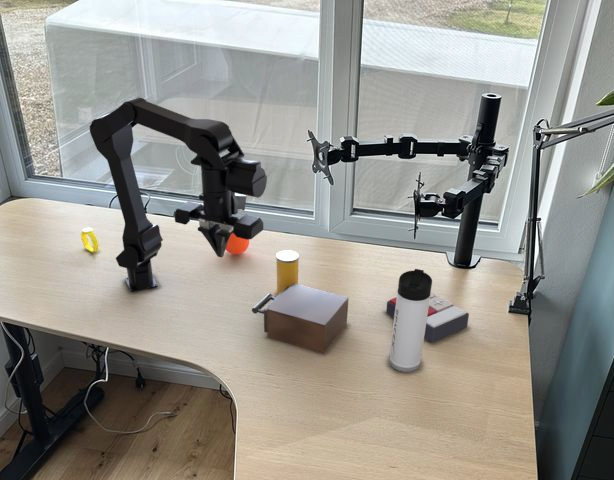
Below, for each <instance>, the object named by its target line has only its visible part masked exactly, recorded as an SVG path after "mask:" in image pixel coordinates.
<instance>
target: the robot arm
mask: <svg viewBox="0 0 614 480" xmlns="http://www.w3.org/2000/svg"><path fill="white" fill-rule="evenodd" d="M137 125H140V126H142V127H144V128H148V129H151V130H152V131H155V132H158V133H161V134H163V135H165V136H168V137H171V138H173V139H176V140H178V141H180V142H182V143H184V144H185V146H186V147H187V148H188V150H190V151H191V152H192V153H194V154H196V155H195V157H193V159H191V160H190V164H191V165H194V166H199V167H200V178H201V179H200V180H201V188H202V189H201V193H199V194H198V200H200V201H202V203H203V204H202V203H198V202H193V201H190V200H189V201H188V200H187V201H186V202H185V203H184V204H181V205H180V206H179V207H177V208H176V209H175V210H174V213H173V216H174V218H173V219H174V222H175V223H176V224H181V225H184V226H185V225H187V224H189V223H190V221H191V219H194V220H197V222H199V223H198V224H199V226H198V227H197V231H198V232H200V233H201V234H202V235H203V237H204V238H205V239H206V241H207V242H208V244H209V245H210V246H211V248H212V251H214V253H215V255H216V256H217V257H218V258H223V257H224V255H225V252H226V246H227V243H228V240H229V238H230V236H231V234H232V233H234V234H235V235H236V237H239V238H243V239H247V240H249V241H250V240H253V239H254V238H255V237H257V235H259V234H260V233H261V232H262V231H264V220H263V219H262V218H261V217H259V216H255V215H251V214H244V215H243V216H241V217H240V218H239V217H237V216H235V215H237V214H238V213H239V211H246V203H247V196H248V197H253V198H256V199H257V198H258V199H259V198H261V197H262V196H263V194H264V193H265V190H266V187H267V183H268V176H267V175H266V171H265V169H264V168H263V167H262V163H261V161H259V160H249V159H248V160H247V159H243V158H245V152H243V150H242V148H241V146H240V145H239V143H238V142H237V140H236V139H235V137H234V135H233V133H232V131H231V129H230V126H229V125H228V124H227V123H226V122H224V121H222V120H215V119H208V118H192V117H189V116H187V115H184V114H181V113H178V112H175V111H173V110H171V109H168V108H165V107H164V106H163V107H162V106H160V105H157V104H155V103H152V102H149V101H148V100H146V99H145V98H144V97H139V96H137V97H134V98H131V99H129V100H126V101H124V102H123V103H122V104H121V105H119V106H118V107H117V108H116V109H114V110H113V111H111V112H110V113H107V114H104V115H102V116H99V117H96V118H94V119H93V120H92V121H91V123H90V125H89V134H90V136H91V139H92V142H93V143H94V146H95V148H96V150H97V151H98V152H99V154H101V155H102V157H103V158H104V159H106V162H107V164H108V168H109V170H110V174H111V178H112V182H113V186H114V188H115V192H116V197H117V199H118V203H119V207H120V210H121V214H122V217H123V221H124V227H123V232H122V237H121V238H122V239H121V240H122V245H123V250H121V252H120V253H119V254H118V255H117V256H116V257H115V260H116V263H117V265H118V266H119V267H120V268H124V269H126V274H127V277H125V279H124V280H125V283H126V286H127V288H128V290H129V291H130V292H131V293H134V292H140V291H144V290H149V289H154V288H158V283H157V281H156V280H155V277H154V275H153V268H152V259H153V258H155V257H157V256H158V252H159V251H160V249H161V248H162V247H163V246H162V245H163V243H162V242H163V241H164V239H163V237H162V235H161V230H160V226H159V224H153V223H152V221H150V220H149V219H148V217H147V214H146V209H145V206H144V201H143V198H142V194H141V191H140V186H139V182H138V179H137V175H136V172H135V167H134V163H133V160H132V150H133V146H134V134H133V129H134V128H135V127H136V126H137ZM226 151H227V152H228V153H226V154H224V155H222V156H221V154H222V153H224V152H226ZM233 215H234V216H233Z"/></svg>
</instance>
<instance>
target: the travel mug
mask: <svg viewBox="0 0 614 480" xmlns="http://www.w3.org/2000/svg"><path fill="white" fill-rule="evenodd" d="M397 286H398V287H397V291H396V297H397V299H396V307H395V316H394V317H393V324H392V325H393V326H392V335H391V343H390V349H389V350H390V351H389V359H388V360H389V361H388V363H389V365H390V367H392V368H393V369H394V370H397V371H399V372H403V373H410V372H414V371H416V370H417V369H419V368H420V366H421V362H422V353H423V348H424V340H425V339H424V335H425V328H426V322H427V315H428V308H429V302H430V295H431V293H432V286H433V279H432V276H430V274H428V273H426V272H425V271H424V269H418V268H414V270H408V271H405V272H402V273H401V274H400V275H399V277H398V285H397Z"/></svg>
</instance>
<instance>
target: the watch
mask: <svg viewBox="0 0 614 480" xmlns="http://www.w3.org/2000/svg"><path fill="white" fill-rule="evenodd" d="M80 233H81V235H80V237H81V241H82V244H83V246H84V248H85V249H86V250H87V251H89V252H90V253H91V254H93V253H96V252H98V251H99V246H100V245H99V241H98V239H97V236H96V234H95V233H94V228H93V227H84V228H82V229H81V232H80ZM87 235H88V236H89V238H90V240H91V243H92V246H91V244H90V242H89V240H88V236H87Z"/></svg>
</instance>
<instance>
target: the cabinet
mask: <svg viewBox="0 0 614 480" xmlns="http://www.w3.org/2000/svg"><path fill="white" fill-rule="evenodd" d="M348 310H349V297H348V296H345V295H341V294H337V293H333V292H329V291H327V290H326V291H325V290H321V289H318V288H314V287H311V286H306V285H302V284H299V283H298V284H295V283H293V284H292V285H291V286H290V287H289V288H288V289H287V290H286V291H285V292H284V293H283V294H282V295H281V296H280V297H279V298H278V299H277V300H276V301H275V302H274V303H273V304H272V305H271V306H270V307H269V308H268V309H267V311H268V312H267V315H268V333H267V338H268V339H271V340H275V341H279V342H281V343H282V342H283V343H285V344H289V345H291V346H296V347H299V348H301V349H305V350H308V351H312V352H315V353H319V354H323V355H325V353H326V352H327V351H328V349H330V347H331V346H332V344H333V343H334V342H335V341H336V339H337V338H338V337H339V335H341V333H342V332H343V331H344V329H345V328H346V327H347V324H348V314H349V313H348V312H349V311H348Z"/></svg>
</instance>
